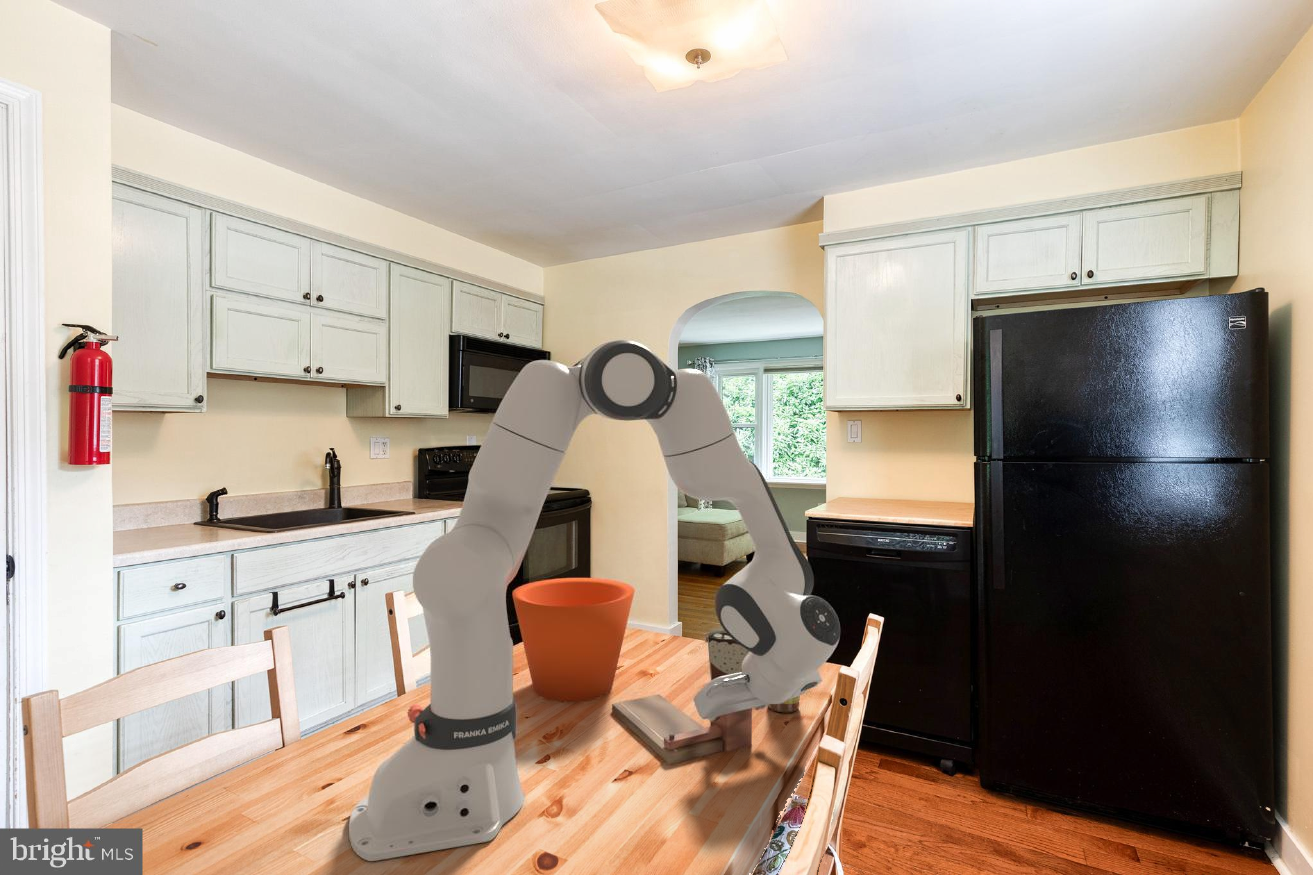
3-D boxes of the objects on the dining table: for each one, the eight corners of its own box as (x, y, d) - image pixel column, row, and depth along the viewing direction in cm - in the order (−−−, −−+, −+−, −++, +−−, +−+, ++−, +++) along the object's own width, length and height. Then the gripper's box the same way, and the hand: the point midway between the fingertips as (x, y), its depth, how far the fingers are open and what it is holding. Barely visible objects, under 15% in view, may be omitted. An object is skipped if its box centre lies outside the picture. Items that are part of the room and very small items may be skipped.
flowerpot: (602, 720, 117) (603, 611, 117) (486, 700, 125) (487, 599, 125) (651, 674, 140) (651, 583, 140) (550, 659, 149) (550, 574, 149)
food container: (770, 682, 136) (770, 635, 136) (758, 692, 130) (758, 642, 130) (717, 671, 142) (718, 625, 142) (704, 679, 137) (705, 632, 137)
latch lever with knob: (674, 765, 101) (674, 709, 101) (658, 751, 105) (659, 698, 105) (751, 744, 108) (751, 692, 108) (734, 732, 112) (734, 682, 112)
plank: (669, 764, 101) (669, 754, 101) (612, 711, 120) (612, 703, 120) (722, 750, 106) (722, 740, 106) (659, 701, 125) (659, 693, 125)
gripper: (724, 704, 93) (689, 743, 102) (830, 679, 103) (790, 717, 111) (707, 663, 97) (675, 704, 106) (811, 643, 107) (774, 682, 115)
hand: (735, 710), depth 108 cm, fingers open, 8 cm apart
